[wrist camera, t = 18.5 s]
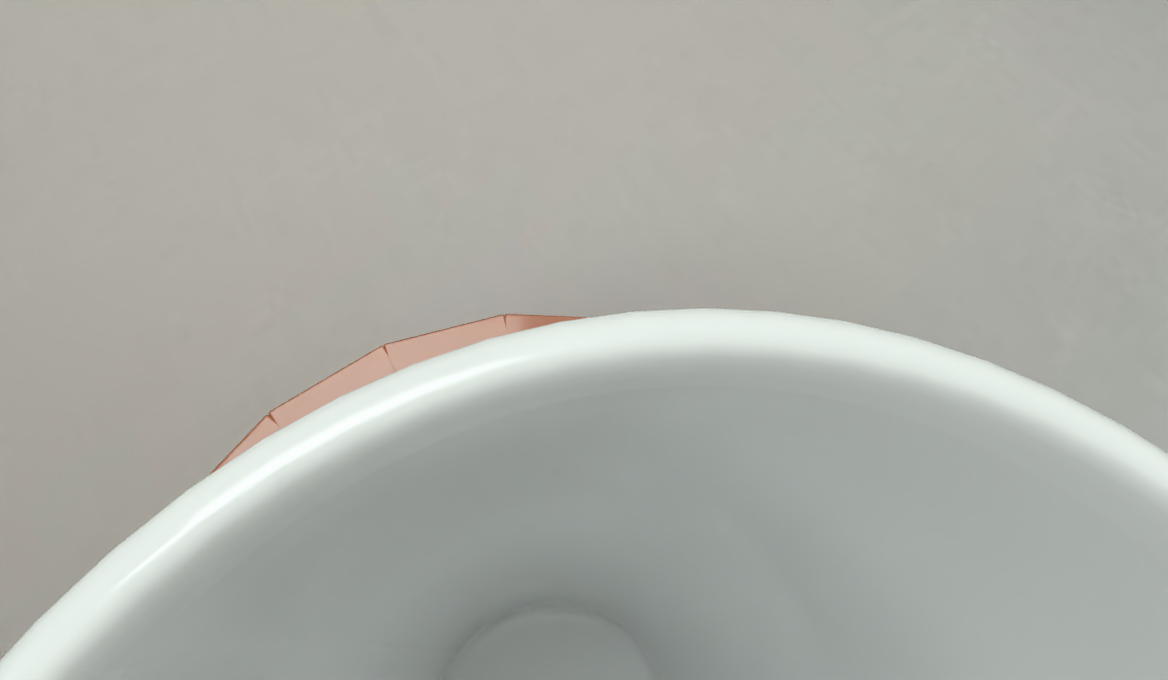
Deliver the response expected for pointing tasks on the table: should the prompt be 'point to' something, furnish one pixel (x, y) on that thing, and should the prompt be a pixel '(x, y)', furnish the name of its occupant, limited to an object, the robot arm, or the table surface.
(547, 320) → the bowl
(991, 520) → the drinking glass
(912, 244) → the table surface
